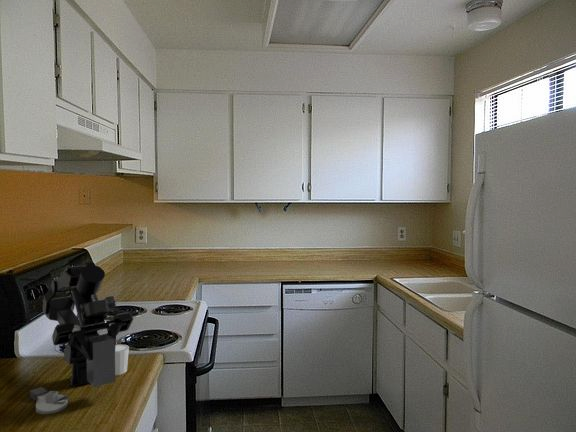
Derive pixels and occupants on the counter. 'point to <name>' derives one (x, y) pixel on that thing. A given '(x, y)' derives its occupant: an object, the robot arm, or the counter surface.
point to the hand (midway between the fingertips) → (102, 356)
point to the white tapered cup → (121, 358)
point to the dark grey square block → (101, 360)
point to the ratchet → (48, 401)
